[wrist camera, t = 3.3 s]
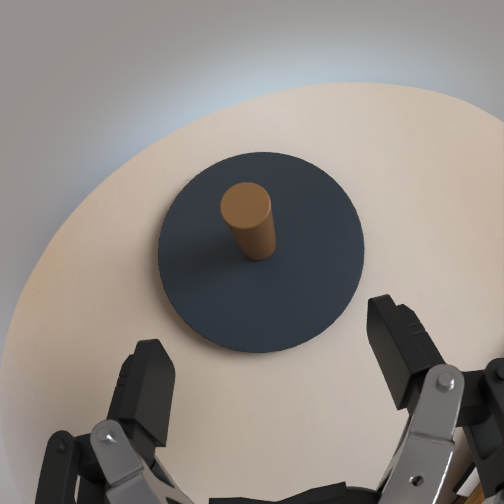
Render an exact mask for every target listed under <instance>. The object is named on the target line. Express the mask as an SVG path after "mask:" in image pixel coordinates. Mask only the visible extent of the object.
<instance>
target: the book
mask: <svg viewBox="0 0 504 504" xmlns="http://www.w3.org/2000/svg"><path fill="white" fill-rule="evenodd" d="M479 482H480V479H479V475H478V472H477V469H476V465H475V462H474V461H473V462H472V464H471V465H470V467H469V468H468V469H467V471H466V472H465V474H464V475H463V476H462V478H461V479H460V481H459V482H458V483H457V485H456V486H455V487H454V488H453V490H452V491H453V492H454V493H456V494H458V495H462V496H461V497H460V498H459V499H458V500H457V501H456V502H455V503H454V504H482V502H483V501H484V500H485V497H484V493H483V490H482V486H481V482H480V484H479V485H478V483H479ZM477 485H478V486H477ZM476 486H477V488H476ZM475 488H476V489H475ZM474 489H475V490H474ZM473 490H474V492H473ZM472 492H473V493H472ZM471 493H472V494H471Z"/></svg>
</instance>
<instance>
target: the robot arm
mask: <svg viewBox="0 0 504 504" xmlns="http://www.w3.org/2000/svg"><path fill="white" fill-rule="evenodd" d="M367 336H368V340H369V343H370V345H371V347H372V350H373V352H374V354H375V356H376V359H377V361H378V363H379V366H380V368H381V371H382V373H383V375H384V378H385V380H386V383H387V385H388V388H389V390H390V393H391V395H392V398H393V400H394V403H395V405H396V408H397V410H401V409H404V408H407V410H408V413H409V417H408V419H407V422H406V425H405V427H404V430H403V433H402V435H401V438H400V440H399V443H398V445H397V448H396V450H395V453H394V455H393V457H392V459H391V461H390V463H389V465H388V467H387V469H386V471H385V473H384V475H383V477H382V479H381V481H380V483H379V485H378V487H377V489H376V491H375V490H372V489H368V488H363V487H354V486H348V487H346V483H345V482H341V483H337V484H332V485H328V486H323V487H318V488H313V489H310V490H307V491H305V492H302V493H300V494H297V495H295V496H292V497H289V498H286V499H284V500H281V501H277V502H272V501H263V500H256V499H249V498H243V497H236V498H209V504H435V503H436V501H437V498H438V496H439V493H440V491H441V488H442V486H443V483H444V480H445V477H446V474H447V471H448V469H449V465H450V462H451V459H452V456H453V452H454V448H455V442H454V441H453V435H454V431H455V427H462V428H463V430H464V433H465V436H466V439H467V441H468V444H469V447H470V450H471V453H472V456H473V459H474V462H475V465H476V469H477V472H478V475H479V479H480V482H481V486H482V490H483V493H484V497H485V500H484V501H483V502H482V504H504V358H496V359H493V360H492V361H490V362H489V364H488V365H487V367H486V368H485V370H477V371H468V372H462V371H460V370H459V369H458V368H456V367H455V366H452V365H449V364H446V363H445V361H444V360H443V358H442V356H441V355H440V353H439V351H438V349H437V348H436V346H435V344H434V343H433V341H432V339H431V338H430V336H429V335H428V333H427V332H426V331H425V328H424V327H423V325H422V323H420V320H419V319H418V317H417V316H416V314H415V313H414V311H413V310H411V309H410V308H408V307H407V306H405V305H404V304H401V305H398V306H396V305H395V303H394V301H393V300H392V298H391V297H390V295H388V294H385V295H382V296H378V297H374V298H370V299H369V300H368V311H367ZM174 383H175V368H174V365H173V363H172V361H171V359H170V358H169V356H168V354H167V353H166V351H165V349H164V348H163V346H162V344H161V343H160V341H159V340H158V339H150V340H141V341H138V343H137V345H136V348H135V352H134V354H132V355H129V356H128V358H127V359H126V360H125V362H124V363H123V364H122V367H121V370H120V374H119V378H118V380H117V384H116V385H117V386H116V387H115V390H114V394H113V397H112V401H111V404H110V408H109V412H108V415H107V418H106V420H103V421H101V422H99V423H98V424H97V425H96V426H95V427H94V428H93V430H92V432H91V433H89V434H85V435H81V436H77V437H74V436H72V435H71V434H70V433H68V432H67V431H64V430H61V431H57V432H55V433H54V434H53V435H52V436H51V437H50V439H49V441H48V444H47V447H46V451H45V456H44V460H43V464H42V469H41V473H40V478H39V483H38V488H37V494H36V500H35V504H76V502H75V499H74V494H75V487H76V481H77V475H79V476H81V477H80V483H79V490H78V498H77V504H195V503H194V502H193V501H192V500H191V499H190V498H189V497H188V496H186V495H185V494H184V493H183V492H182V491H181V490H180V489H179V487H178V486H177V485H176V483H175V482H174V481H173V479H172V478H171V476H170V475H169V474H168V472H167V471H166V469H165V468H164V466H163V465H162V463H161V462H160V460H159V459H158V457H157V456H156V455H155V447H166V441H167V433H168V425H169V418H170V410H171V403H172V396H173V389H174Z"/></svg>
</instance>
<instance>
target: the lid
mask: <svg viewBox="0 0 504 504" xmlns="http://www.w3.org/2000/svg"><path fill="white" fill-rule="evenodd" d="M364 249H365V248H364V236H363V231H362V227H361V223H360V220H359V217H358V214H357V212H356V209H355V208H354V206H353V204H352V202H351V200H350V198H349V197H348V196H347V194H346V193H345V192H344V190H343V189H342V188H341V186H340V185H339V184H338V183H337V182H336V181H335V180H334V179H333V178H332V177H330V176H329V175H328V174H327V173H325V172H324V171H323V170H321V169H320V168H318V167H316V166H315V165H313V164H311V163H309V162H307V161H305V160H302V159H300V158H297V157H293V156H290V155H286V154H280V153H271V152H255V153H247V154H241V155H237V156H234V157H230V158H227V159H225V160H222V161H220V162H218V163H216V164H214V165H212V166H210V167H208V168H207V169H205V170H204V171H202V172H201V173H200V174H198V175H197V176H196V177H195V178H193V179H192V180H191V181H190V182H189V183H188V184H187V185H186V186H185V187H184V188H183V190H182V191H181V192H180V193H179V194H178V196H177V197H176V199H175V200H174V202H173V203H172V205H171V207H170V209H169V211H168V213H167V215H166V217H165V220H164V223H163V226H162V229H161V234H160V238H159V248H158V262H159V270H160V276H161V280H162V283H163V286H164V289H165V292H166V294H167V296H168V298H169V300H170V302H171V304H172V305H173V307H174V308H175V310H176V311H177V313H178V314H179V315H180V316H181V317H182V319H183V320H184V321H185V322H186V323H187V324H188V325H189V326H190V327H191V328H193V329H194V330H195V331H196V332H197V333H199V334H200V335H202V336H203V337H205V338H206V339H208V340H210V341H212V342H214V343H216V344H218V345H221V346H223V347H227V348H230V349H233V350H238V351H244V352H253V353H266V352H274V351H281V350H285V349H288V348H292V347H295V346H297V345H300V344H302V343H305V342H307V341H309V340H310V339H312V338H314V337H315V336H317V335H319V334H320V333H322V332H323V331H324V330H325V329H327V328H328V327H329V326H330V325H332V324H333V323H334V321H335V320H336V319H337V318H338V317H339V316H340V315H341V314H342V313H343V311H344V310H345V308H346V307H347V306H348V304H349V303H350V301H351V299H352V297H353V295H354V293H355V291H356V289H357V287H358V284H359V281H360V278H361V274H362V269H363V264H364Z"/></svg>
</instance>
